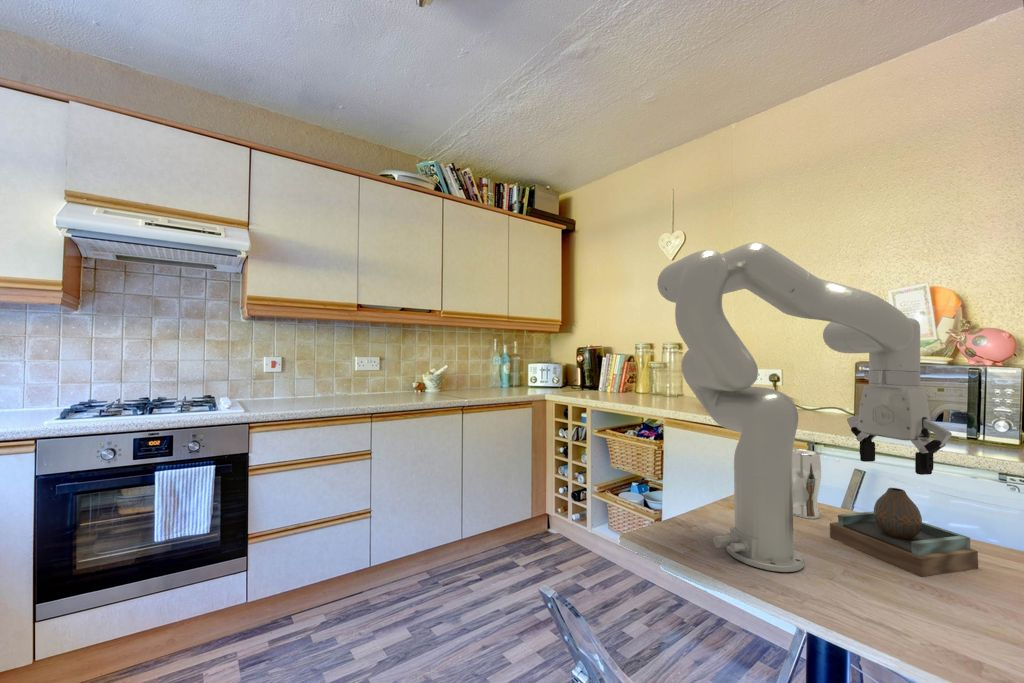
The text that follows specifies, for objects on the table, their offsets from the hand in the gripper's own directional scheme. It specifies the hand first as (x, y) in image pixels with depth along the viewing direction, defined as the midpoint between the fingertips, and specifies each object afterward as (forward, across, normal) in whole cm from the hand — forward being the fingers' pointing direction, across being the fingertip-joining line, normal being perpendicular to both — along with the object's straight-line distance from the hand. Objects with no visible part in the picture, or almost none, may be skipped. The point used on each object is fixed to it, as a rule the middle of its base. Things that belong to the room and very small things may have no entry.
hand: (894, 467), depth 82 cm
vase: (+13, 0, 0) cm, 13 cm away
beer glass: (+17, -20, +1) cm, 26 cm away
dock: (+16, 0, +1) cm, 16 cm away
